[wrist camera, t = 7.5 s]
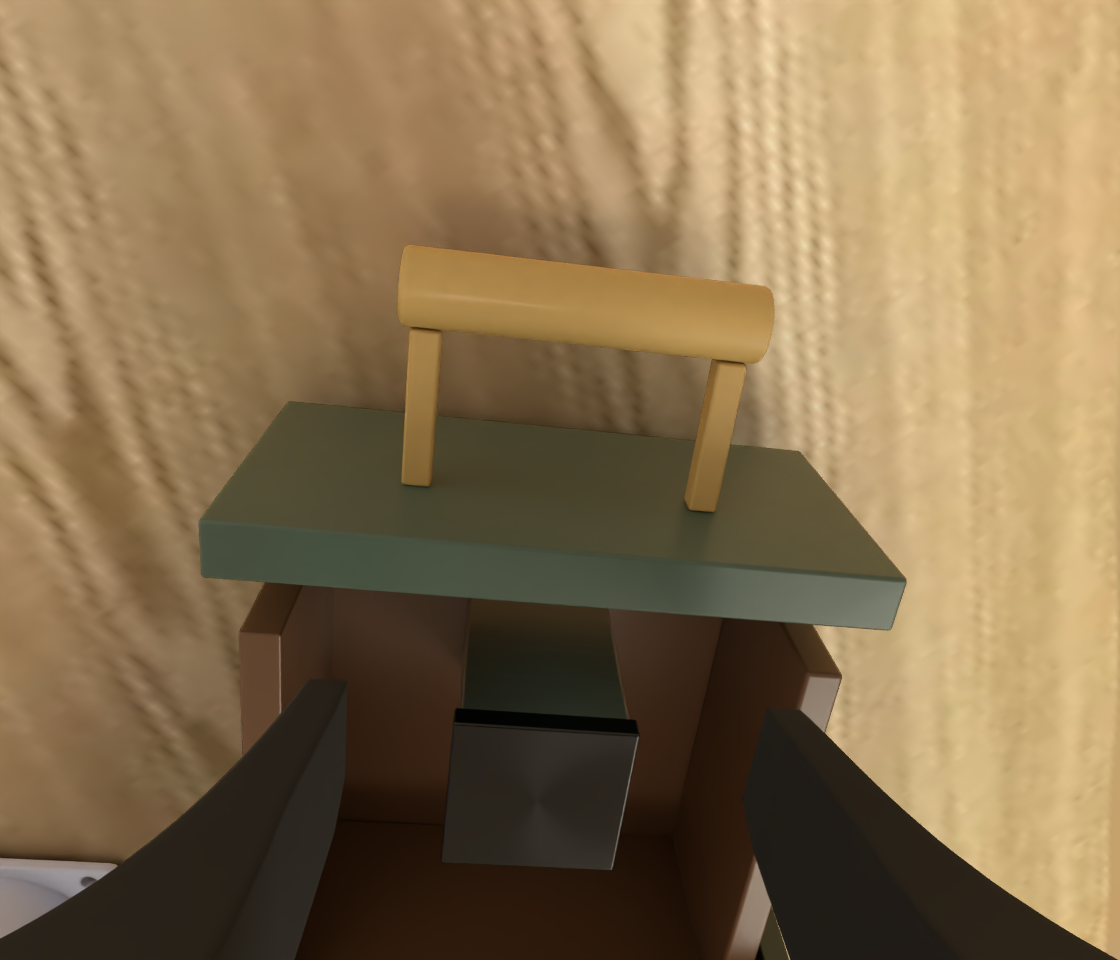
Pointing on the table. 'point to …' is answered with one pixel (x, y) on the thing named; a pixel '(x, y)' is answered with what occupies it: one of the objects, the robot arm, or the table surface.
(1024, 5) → the table surface
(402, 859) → the drawer
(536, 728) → the metal-capped square post
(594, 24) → the table surface
